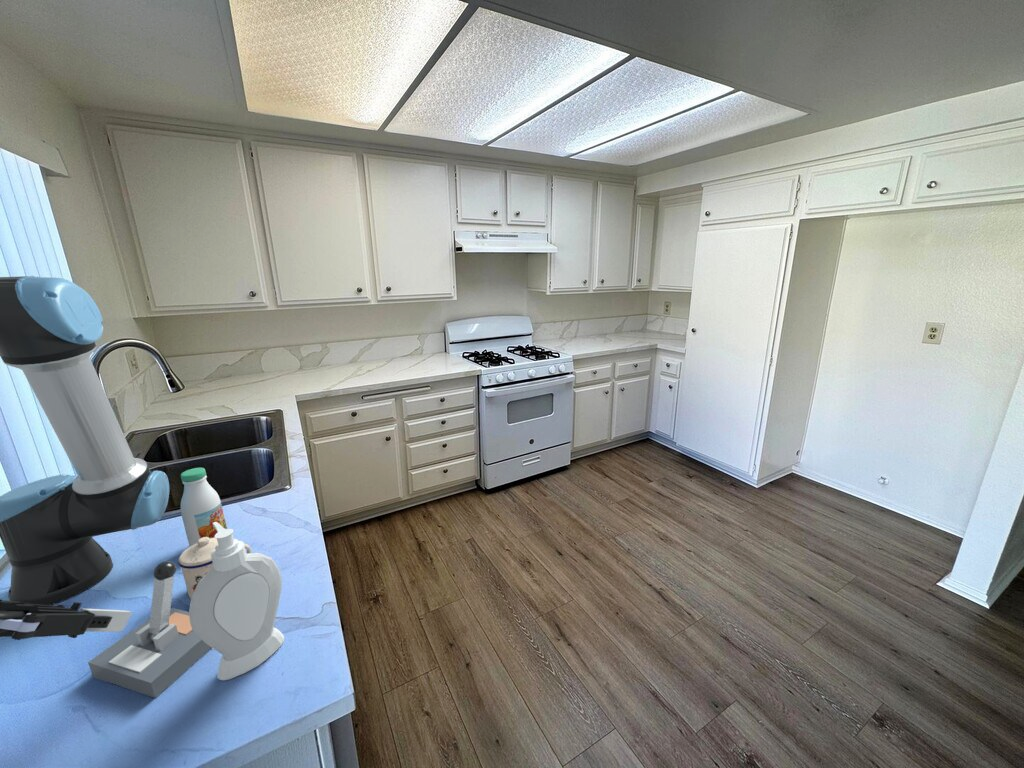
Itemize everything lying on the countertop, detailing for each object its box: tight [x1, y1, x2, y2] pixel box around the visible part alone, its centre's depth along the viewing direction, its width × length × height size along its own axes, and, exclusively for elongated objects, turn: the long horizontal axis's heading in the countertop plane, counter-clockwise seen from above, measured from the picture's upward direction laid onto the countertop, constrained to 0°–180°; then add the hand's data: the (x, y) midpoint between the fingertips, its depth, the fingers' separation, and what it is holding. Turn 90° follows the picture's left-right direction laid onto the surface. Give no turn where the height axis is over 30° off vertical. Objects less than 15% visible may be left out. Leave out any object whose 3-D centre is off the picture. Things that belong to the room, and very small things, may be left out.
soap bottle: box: [188, 522, 285, 681], centre depth 67 cm, size 13×8×24 cm, turn 140°
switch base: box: [87, 607, 213, 699], centre depth 70 cm, size 12×14×5 cm
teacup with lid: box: [177, 537, 252, 600], centre depth 85 cm, size 12×9×12 cm
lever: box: [147, 561, 177, 642], centre depth 70 cm, size 3×3×13 cm
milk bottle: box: [180, 467, 228, 548], centre depth 97 cm, size 8×8×20 cm
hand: (123, 620), depth 64 cm, fingers closed
